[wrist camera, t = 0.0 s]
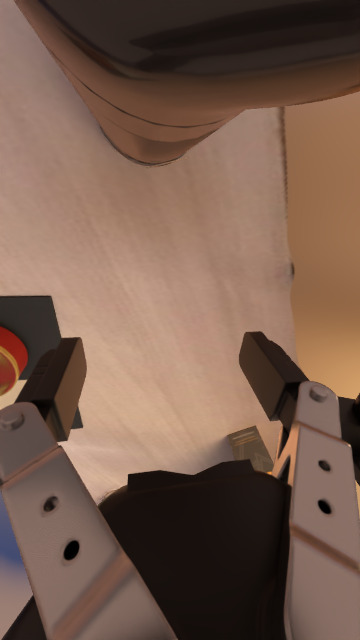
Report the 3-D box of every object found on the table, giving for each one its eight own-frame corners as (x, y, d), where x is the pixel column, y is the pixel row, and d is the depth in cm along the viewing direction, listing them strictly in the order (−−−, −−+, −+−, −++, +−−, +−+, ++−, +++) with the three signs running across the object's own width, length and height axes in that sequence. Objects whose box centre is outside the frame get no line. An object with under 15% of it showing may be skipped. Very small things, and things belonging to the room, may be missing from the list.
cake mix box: (268, 473, 58) (369, 704, 32) (245, 481, 58) (328, 716, 32) (255, 425, 46) (398, 726, 21) (227, 435, 46) (333, 744, 21)
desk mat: (-113, 297, 24) (-116, 298, 24) (51, 296, 27) (50, 297, 26) (-24, 436, 36) (-26, 438, 36) (83, 426, 39) (82, 428, 38)
